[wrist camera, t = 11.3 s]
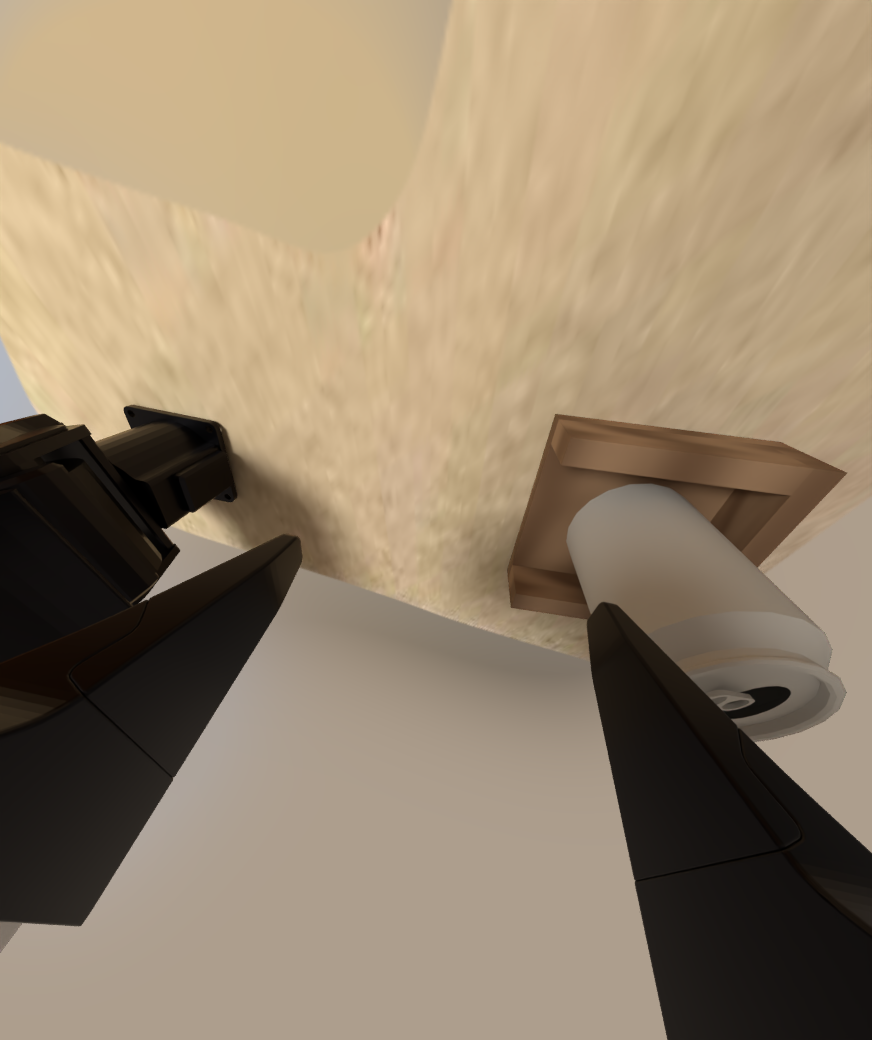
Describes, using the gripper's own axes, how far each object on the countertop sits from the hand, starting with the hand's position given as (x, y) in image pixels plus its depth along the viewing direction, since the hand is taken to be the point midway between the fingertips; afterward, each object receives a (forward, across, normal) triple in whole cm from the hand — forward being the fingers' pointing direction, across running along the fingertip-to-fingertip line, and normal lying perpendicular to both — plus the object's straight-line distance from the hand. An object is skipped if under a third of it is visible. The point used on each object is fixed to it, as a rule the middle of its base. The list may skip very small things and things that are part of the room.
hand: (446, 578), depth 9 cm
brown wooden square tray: (+13, -12, +4) cm, 18 cm away
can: (+12, -12, +4) cm, 18 cm away
